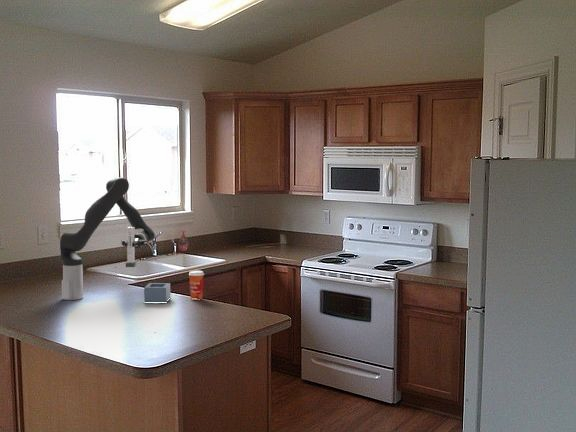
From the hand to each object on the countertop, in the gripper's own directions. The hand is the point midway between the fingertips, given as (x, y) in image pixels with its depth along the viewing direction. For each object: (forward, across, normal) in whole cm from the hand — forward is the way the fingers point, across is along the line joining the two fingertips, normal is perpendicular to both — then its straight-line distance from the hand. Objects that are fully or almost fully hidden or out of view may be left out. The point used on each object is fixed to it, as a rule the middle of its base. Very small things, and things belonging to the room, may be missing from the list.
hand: (129, 244), depth 316 cm
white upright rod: (-3, 0, +12) cm, 12 cm away
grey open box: (+8, +16, +27) cm, 32 cm away
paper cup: (+2, +34, +27) cm, 44 cm away
